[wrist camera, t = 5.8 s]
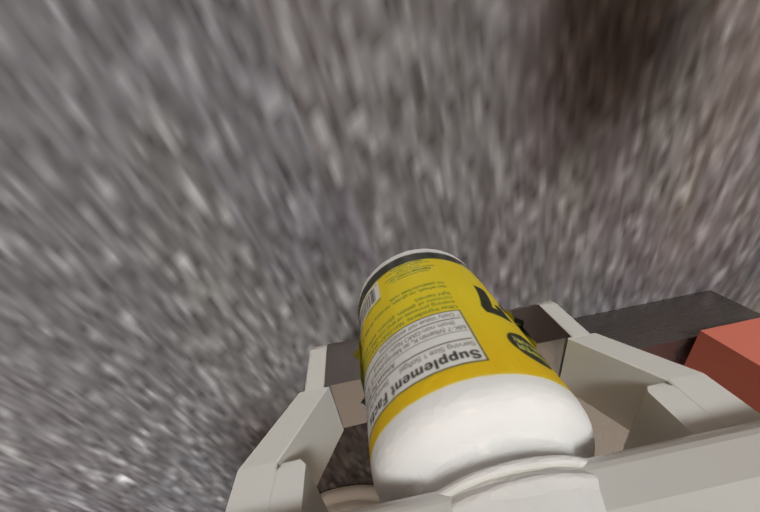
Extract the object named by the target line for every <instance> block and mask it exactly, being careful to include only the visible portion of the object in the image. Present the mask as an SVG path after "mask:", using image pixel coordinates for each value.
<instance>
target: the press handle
mask: <svg viewBox="0 0 760 512" xmlns="http://www.w3.org/2000/svg"><path fill="white" fill-rule="evenodd" d="M684 366H686V367H688V368H691V369H694V370H696V371H699V372H702V373H704V374H705V375H707V376H708V377H710V378H711V379H712V380H714V381H715V382H717V383H718V384H719V385H721V386H722V387H724V388H725V389H726V390H728V391H729V392H731V393H732V394H733V395H735V396H736V397H737V398H739V399H740V400H742V401H743V402H744V403H746V404H747V405H749V406H750V407H751V408H753V409H754V410H756V411H757V412H758V413H760V318H756V319H751V320H747V321H742V322H737V323H733V324H728V325H723V326H719V327H714V328H709V329H705V330H700V332H699V334H698V336H697V339H696V341H695V343H694V345H693V347H692V349H691V352H690V354H689V356H688V358H687V360H686V362H685V364H684Z"/></svg>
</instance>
